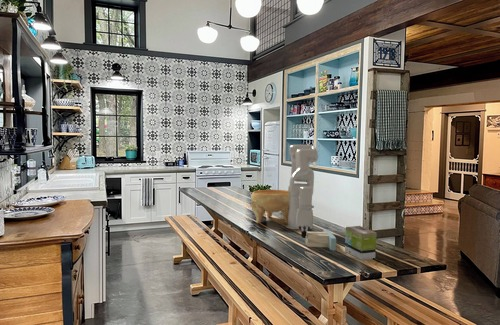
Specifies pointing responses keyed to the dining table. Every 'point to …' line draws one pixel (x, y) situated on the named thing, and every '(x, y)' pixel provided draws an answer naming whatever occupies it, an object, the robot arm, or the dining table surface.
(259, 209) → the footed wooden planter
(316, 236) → the maple brick
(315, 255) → the dining table surface
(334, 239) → the board
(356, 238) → the tea box
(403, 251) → the dining table surface
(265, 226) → the dining table surface
